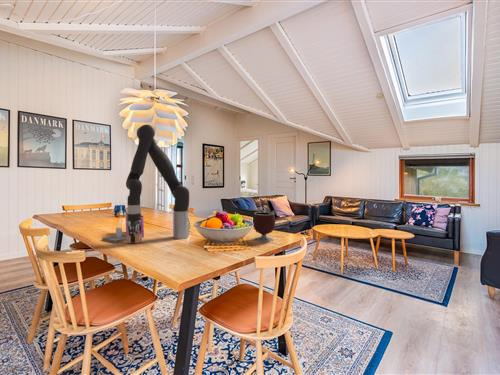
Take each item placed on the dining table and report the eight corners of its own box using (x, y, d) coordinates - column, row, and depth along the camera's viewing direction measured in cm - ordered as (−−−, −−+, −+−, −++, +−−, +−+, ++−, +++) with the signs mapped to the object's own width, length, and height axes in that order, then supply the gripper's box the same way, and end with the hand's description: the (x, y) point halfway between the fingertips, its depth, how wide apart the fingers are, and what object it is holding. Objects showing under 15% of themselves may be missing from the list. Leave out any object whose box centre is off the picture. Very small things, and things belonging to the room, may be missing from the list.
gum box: (144, 238, 175) (144, 217, 174) (131, 239, 171) (131, 218, 170) (137, 231, 195) (137, 212, 194) (125, 232, 191) (125, 212, 190)
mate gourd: (248, 240, 173) (249, 208, 172) (260, 236, 185) (260, 206, 184) (270, 244, 165) (270, 211, 164) (280, 239, 176) (281, 208, 175)
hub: (129, 240, 164) (129, 233, 164) (141, 240, 165) (141, 233, 165) (126, 242, 159) (126, 235, 159) (139, 242, 160) (139, 235, 160)
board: (121, 236, 178) (121, 224, 178) (134, 238, 172) (134, 226, 171) (102, 240, 167) (102, 227, 166) (115, 243, 160) (115, 230, 160)
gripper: (131, 210, 168) (131, 238, 169) (123, 214, 154) (123, 244, 155) (144, 210, 169) (144, 238, 170) (136, 214, 155) (137, 244, 155)
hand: (134, 240), depth 162 cm, fingers closed on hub, 5 cm apart
